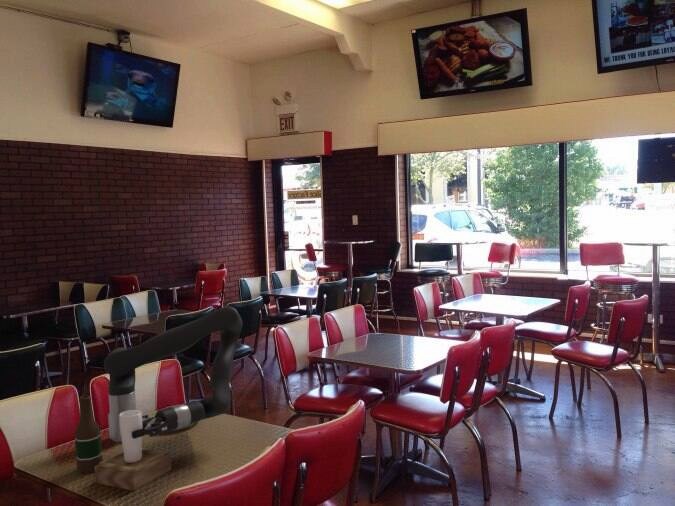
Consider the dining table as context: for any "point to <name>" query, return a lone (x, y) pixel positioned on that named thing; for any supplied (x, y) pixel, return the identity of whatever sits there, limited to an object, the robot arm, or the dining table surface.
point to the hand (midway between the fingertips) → (126, 432)
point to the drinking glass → (131, 446)
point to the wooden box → (132, 469)
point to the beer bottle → (87, 439)
